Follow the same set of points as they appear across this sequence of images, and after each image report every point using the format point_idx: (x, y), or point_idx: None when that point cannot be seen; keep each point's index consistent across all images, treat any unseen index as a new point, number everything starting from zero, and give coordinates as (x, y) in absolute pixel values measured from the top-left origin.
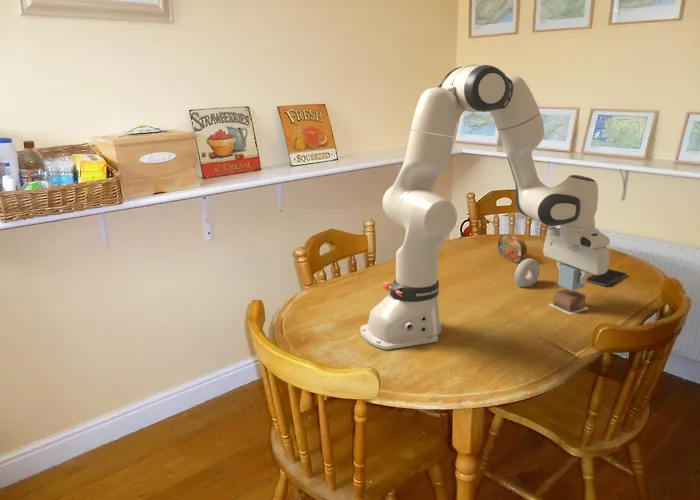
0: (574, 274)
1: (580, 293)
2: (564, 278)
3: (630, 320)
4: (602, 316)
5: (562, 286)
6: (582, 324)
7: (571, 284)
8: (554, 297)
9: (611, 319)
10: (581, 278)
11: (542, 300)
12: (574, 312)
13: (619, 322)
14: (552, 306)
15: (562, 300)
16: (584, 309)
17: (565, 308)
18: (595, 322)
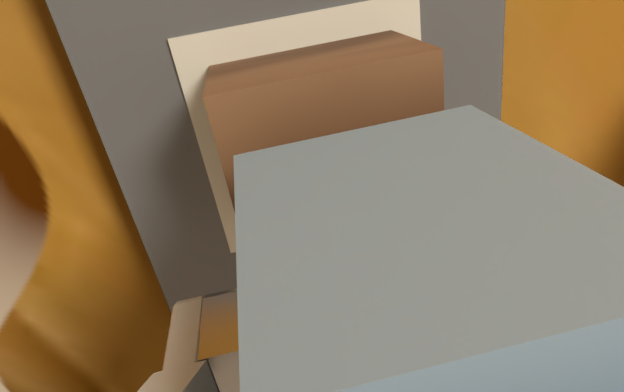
0: (248, 338)
1: None
2: (426, 175)
3: (64, 384)
4: (155, 279)
5: (397, 122)
6: (40, 69)
7: (256, 187)
8: (410, 41)
9: (98, 303)
10: (156, 378)
11: (536, 54)
12: (195, 108)
13: (43, 321)
14: (366, 2)
15: (308, 64)
16: (225, 212)
17: (253, 59)
18: (65, 185)
